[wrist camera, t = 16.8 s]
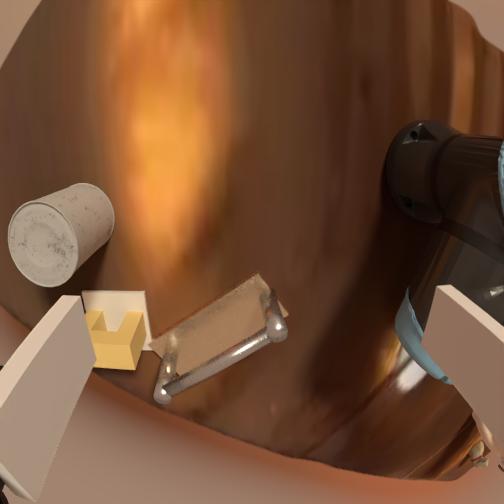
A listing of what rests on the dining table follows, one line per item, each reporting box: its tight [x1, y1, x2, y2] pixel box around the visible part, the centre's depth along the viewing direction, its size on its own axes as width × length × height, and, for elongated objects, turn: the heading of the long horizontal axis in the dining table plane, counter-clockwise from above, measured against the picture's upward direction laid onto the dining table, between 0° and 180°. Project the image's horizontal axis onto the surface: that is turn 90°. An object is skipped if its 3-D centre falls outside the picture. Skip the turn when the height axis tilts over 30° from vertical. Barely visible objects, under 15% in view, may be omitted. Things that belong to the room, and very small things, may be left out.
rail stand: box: [148, 271, 289, 404], centre depth 42 cm, size 20×8×10 cm, turn 124°
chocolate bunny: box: [469, 440, 488, 467], centre depth 69 cm, size 6×8×10 cm
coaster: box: [82, 290, 153, 350], centre depth 45 cm, size 10×10×1 cm
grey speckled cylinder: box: [8, 183, 115, 287], centre depth 34 cm, size 10×10×12 cm
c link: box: [85, 310, 147, 370], centre depth 41 cm, size 9×4×8 cm, turn 89°
